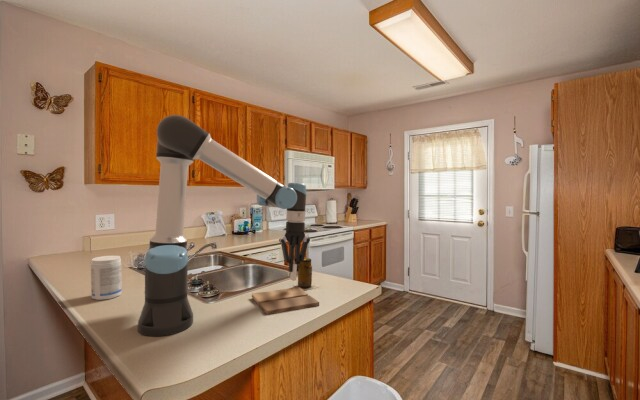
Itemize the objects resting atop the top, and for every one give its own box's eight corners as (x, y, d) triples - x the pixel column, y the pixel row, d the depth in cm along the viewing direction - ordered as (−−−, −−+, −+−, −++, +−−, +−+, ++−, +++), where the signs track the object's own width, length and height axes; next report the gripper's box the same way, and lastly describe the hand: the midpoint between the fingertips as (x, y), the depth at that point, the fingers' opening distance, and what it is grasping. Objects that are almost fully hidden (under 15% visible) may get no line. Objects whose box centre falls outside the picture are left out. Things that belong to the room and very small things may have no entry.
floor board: (266, 314, 106) (266, 311, 106) (258, 305, 113) (258, 302, 113) (319, 305, 115) (319, 302, 115) (308, 297, 123) (308, 294, 123)
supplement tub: (126, 292, 125) (126, 255, 124) (111, 300, 115) (111, 260, 115) (101, 292, 124) (101, 254, 124) (84, 300, 115) (84, 260, 114)
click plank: (258, 305, 114) (258, 301, 114) (251, 296, 121) (252, 293, 121) (308, 297, 123) (308, 294, 123) (299, 289, 131) (299, 287, 130)
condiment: (306, 282, 142) (307, 256, 142) (318, 287, 136) (318, 260, 136) (293, 285, 138) (293, 258, 137) (304, 290, 131) (305, 262, 131)
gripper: (283, 222, 120) (281, 283, 121) (314, 222, 127) (311, 280, 127) (277, 220, 127) (274, 278, 128) (306, 220, 133) (303, 275, 134)
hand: (293, 279), depth 127 cm, fingers closed
